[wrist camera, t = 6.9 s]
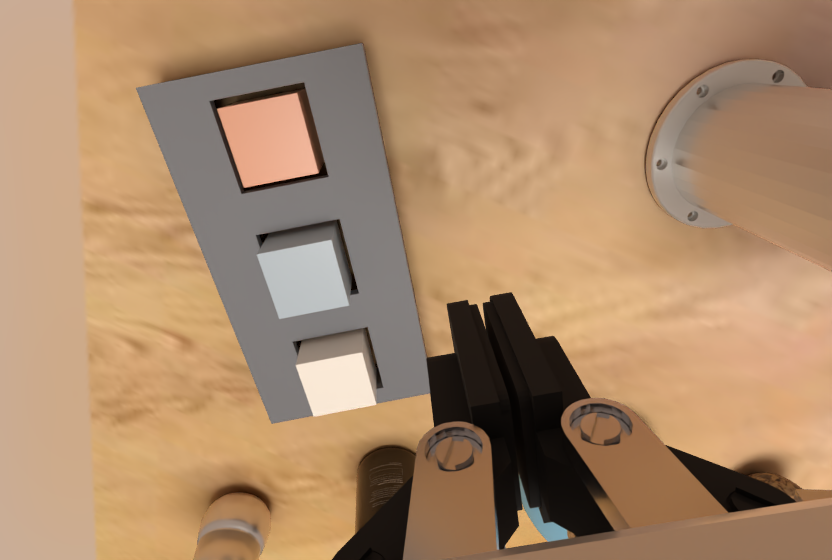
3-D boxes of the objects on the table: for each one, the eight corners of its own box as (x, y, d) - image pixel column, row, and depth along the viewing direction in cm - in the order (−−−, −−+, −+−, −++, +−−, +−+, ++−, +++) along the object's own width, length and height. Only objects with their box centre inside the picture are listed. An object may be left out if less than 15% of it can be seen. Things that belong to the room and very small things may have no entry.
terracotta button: (306, 88, 33) (297, 92, 29) (324, 159, 35) (318, 173, 32) (235, 102, 33) (217, 108, 29) (258, 172, 36) (243, 187, 32)
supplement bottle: (347, 483, 50) (339, 602, 39) (372, 436, 47) (372, 550, 37) (406, 499, 52) (415, 618, 41) (434, 455, 49) (451, 568, 38)
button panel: (363, 44, 33) (362, 43, 29) (428, 365, 44) (433, 392, 41) (162, 84, 33) (135, 88, 29) (280, 393, 44) (271, 423, 41)
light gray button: (336, 218, 35) (331, 239, 31) (352, 278, 38) (349, 305, 34) (269, 231, 35) (256, 254, 31) (289, 291, 38) (279, 319, 34)
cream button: (363, 322, 39) (361, 352, 35) (376, 371, 41) (376, 404, 38) (303, 333, 39) (295, 365, 35) (319, 382, 42) (313, 416, 38)
